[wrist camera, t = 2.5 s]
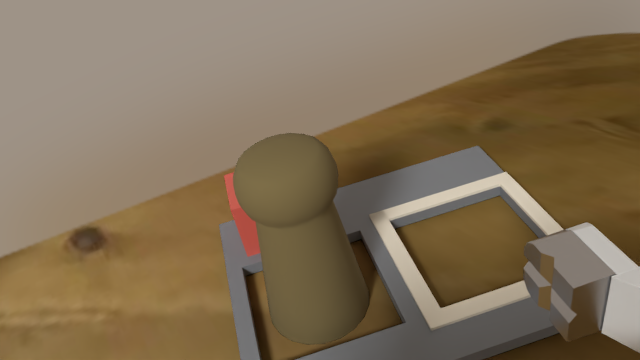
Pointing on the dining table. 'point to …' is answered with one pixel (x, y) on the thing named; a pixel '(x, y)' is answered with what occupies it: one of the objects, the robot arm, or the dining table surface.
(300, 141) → the cork
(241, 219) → the red cube
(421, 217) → the grey and white frame
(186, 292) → the dining table surface
